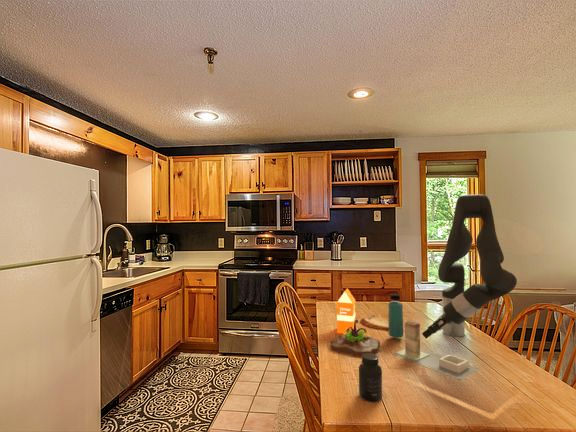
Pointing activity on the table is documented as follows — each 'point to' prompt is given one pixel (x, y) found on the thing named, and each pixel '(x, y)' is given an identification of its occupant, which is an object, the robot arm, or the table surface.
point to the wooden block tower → (412, 338)
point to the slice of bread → (376, 322)
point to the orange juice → (345, 312)
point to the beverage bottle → (395, 317)
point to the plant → (355, 342)
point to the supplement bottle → (370, 378)
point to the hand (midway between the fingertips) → (428, 333)
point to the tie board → (441, 363)
